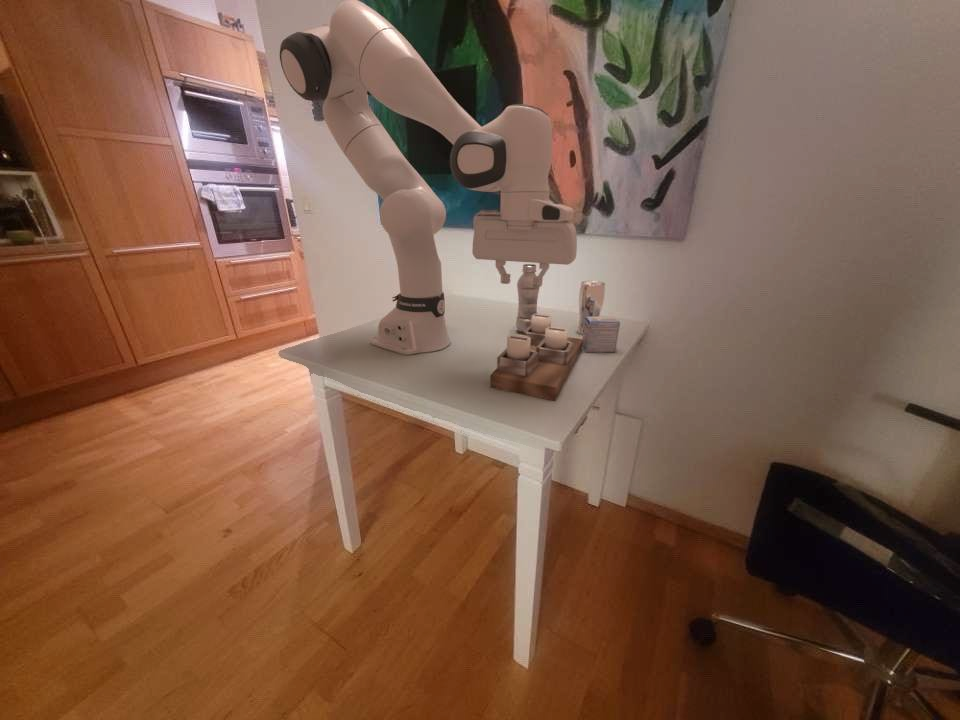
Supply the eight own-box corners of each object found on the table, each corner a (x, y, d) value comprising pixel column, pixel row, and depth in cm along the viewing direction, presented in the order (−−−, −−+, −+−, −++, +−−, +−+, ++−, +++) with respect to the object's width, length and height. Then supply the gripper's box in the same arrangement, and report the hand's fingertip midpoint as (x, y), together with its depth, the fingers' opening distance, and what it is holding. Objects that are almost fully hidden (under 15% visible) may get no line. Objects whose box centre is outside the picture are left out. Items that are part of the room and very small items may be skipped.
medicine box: (609, 346, 100) (614, 315, 97) (615, 352, 96) (620, 320, 92) (581, 346, 100) (584, 316, 96) (586, 353, 96) (590, 321, 92)
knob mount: (490, 387, 78) (490, 361, 75) (531, 342, 103) (532, 321, 101) (555, 400, 72) (557, 373, 70) (581, 349, 98) (584, 328, 95)
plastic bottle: (538, 335, 108) (543, 266, 100) (516, 335, 108) (518, 266, 100) (536, 328, 114) (540, 263, 106) (514, 328, 114) (517, 263, 106)
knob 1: (503, 358, 78) (503, 339, 76) (511, 350, 82) (511, 332, 80) (525, 362, 76) (526, 343, 74) (532, 353, 80) (533, 335, 79)
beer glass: (604, 333, 109) (611, 283, 103) (587, 337, 106) (593, 286, 100) (587, 327, 115) (593, 279, 109) (570, 331, 112) (575, 282, 106)
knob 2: (528, 332, 93) (529, 317, 91) (534, 327, 97) (535, 312, 95) (547, 335, 91) (548, 319, 89) (552, 329, 95) (553, 314, 94)
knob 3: (541, 348, 83) (543, 330, 81) (547, 341, 87) (548, 324, 86) (563, 351, 81) (565, 333, 80) (568, 344, 85) (570, 327, 84)
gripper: (466, 210, 69) (467, 283, 74) (575, 210, 61) (568, 292, 66) (480, 209, 74) (480, 277, 80) (582, 209, 66) (574, 285, 72)
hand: (521, 284), depth 73 cm, fingers open, 5 cm apart
